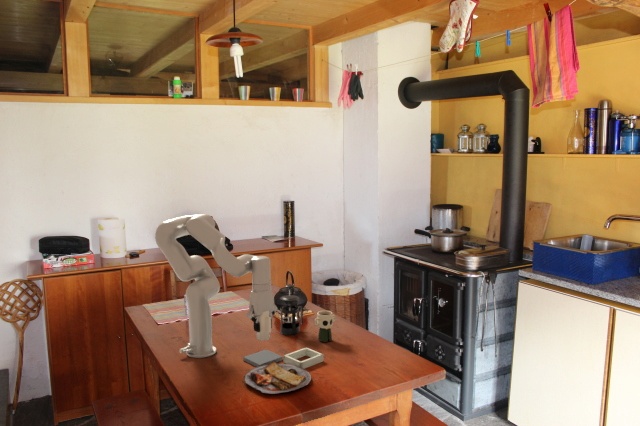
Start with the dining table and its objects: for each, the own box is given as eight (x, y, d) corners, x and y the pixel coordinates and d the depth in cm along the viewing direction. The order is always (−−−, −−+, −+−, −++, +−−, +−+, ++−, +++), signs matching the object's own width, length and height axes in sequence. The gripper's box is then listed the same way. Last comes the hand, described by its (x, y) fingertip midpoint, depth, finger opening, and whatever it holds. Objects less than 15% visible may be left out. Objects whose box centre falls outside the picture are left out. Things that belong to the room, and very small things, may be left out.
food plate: (232, 380, 210) (232, 371, 209) (279, 363, 226) (279, 355, 225) (275, 404, 192) (275, 395, 192) (322, 384, 208) (322, 375, 208)
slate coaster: (259, 368, 221) (259, 364, 221) (243, 360, 229) (243, 357, 228) (282, 359, 229) (282, 356, 229) (266, 352, 237) (266, 349, 237)
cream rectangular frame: (300, 370, 219) (300, 362, 219) (283, 362, 226) (283, 355, 226) (323, 361, 227) (323, 354, 227) (306, 354, 235) (306, 347, 235)
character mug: (318, 345, 245) (318, 317, 243) (310, 340, 251) (310, 312, 249) (339, 340, 250) (339, 312, 249) (330, 335, 256) (330, 308, 255)
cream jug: (253, 338, 227) (252, 310, 226) (264, 334, 231) (263, 307, 230) (265, 342, 222) (264, 314, 220) (275, 339, 226) (274, 311, 224)
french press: (283, 337, 255) (283, 289, 251) (275, 331, 263) (275, 284, 260) (306, 333, 260) (306, 285, 257) (298, 327, 268) (297, 281, 265)
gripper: (272, 281, 233) (273, 322, 235) (239, 289, 221) (240, 332, 224) (283, 284, 228) (284, 326, 230) (250, 292, 216) (251, 337, 218)
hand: (262, 329), depth 227 cm, fingers closed on cream jug, 5 cm apart
